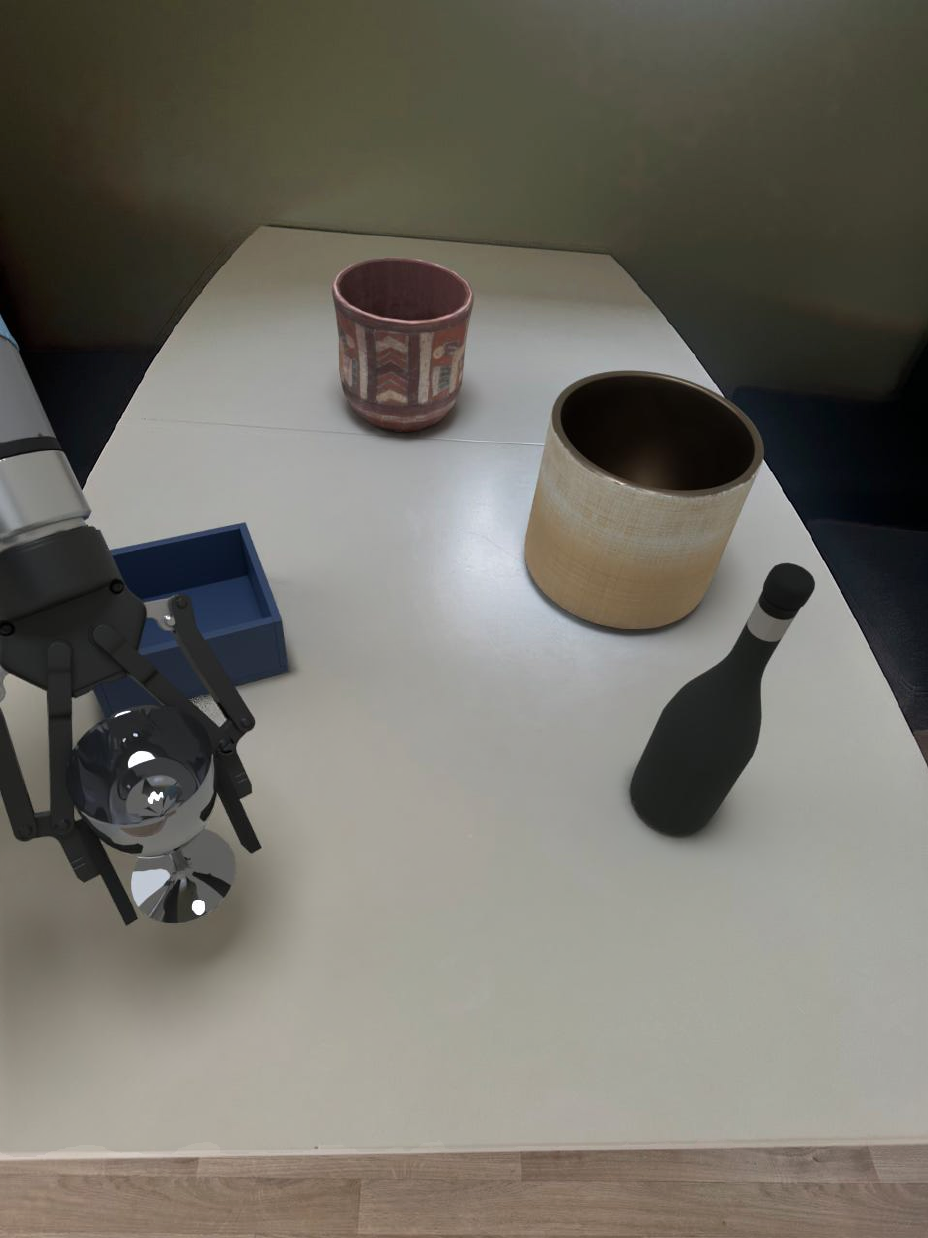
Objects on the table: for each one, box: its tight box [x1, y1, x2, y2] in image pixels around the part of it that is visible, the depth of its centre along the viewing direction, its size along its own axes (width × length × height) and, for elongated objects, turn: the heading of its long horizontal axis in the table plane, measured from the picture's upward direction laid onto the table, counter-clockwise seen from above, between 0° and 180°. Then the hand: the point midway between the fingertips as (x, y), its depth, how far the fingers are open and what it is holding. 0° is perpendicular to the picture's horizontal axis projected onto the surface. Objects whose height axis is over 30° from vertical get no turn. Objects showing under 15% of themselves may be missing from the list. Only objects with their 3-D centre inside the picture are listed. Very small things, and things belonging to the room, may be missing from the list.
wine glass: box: [65, 705, 237, 925], centre depth 51 cm, size 8×8×15 cm
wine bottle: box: [630, 562, 816, 835], centre depth 64 cm, size 8×8×30 cm
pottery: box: [331, 257, 475, 433], centre depth 107 cm, size 18×18×18 cm
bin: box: [92, 521, 290, 718], centre depth 80 cm, size 18×15×8 cm
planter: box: [524, 369, 765, 630], centre depth 88 cm, size 22×22×20 cm
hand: (192, 879), depth 51 cm, fingers closed on wine glass, 7 cm apart
